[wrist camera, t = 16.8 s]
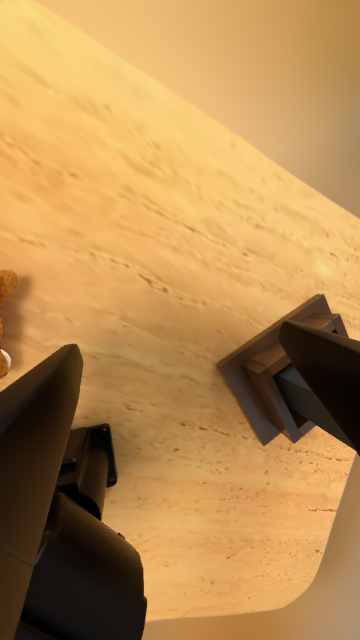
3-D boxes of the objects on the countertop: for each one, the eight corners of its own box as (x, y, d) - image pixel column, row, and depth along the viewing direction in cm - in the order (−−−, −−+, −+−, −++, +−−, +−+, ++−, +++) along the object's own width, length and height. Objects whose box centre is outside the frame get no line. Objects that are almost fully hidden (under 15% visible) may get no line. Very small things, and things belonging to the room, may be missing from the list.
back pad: (280, 402, 24) (426, 496, 12) (263, 368, 23) (404, 436, 11) (321, 369, 25) (490, 427, 13) (307, 336, 24) (475, 367, 12)
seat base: (258, 441, 24) (282, 466, 21) (215, 363, 22) (233, 376, 18) (346, 369, 27) (382, 380, 23) (316, 294, 25) (350, 292, 21)
